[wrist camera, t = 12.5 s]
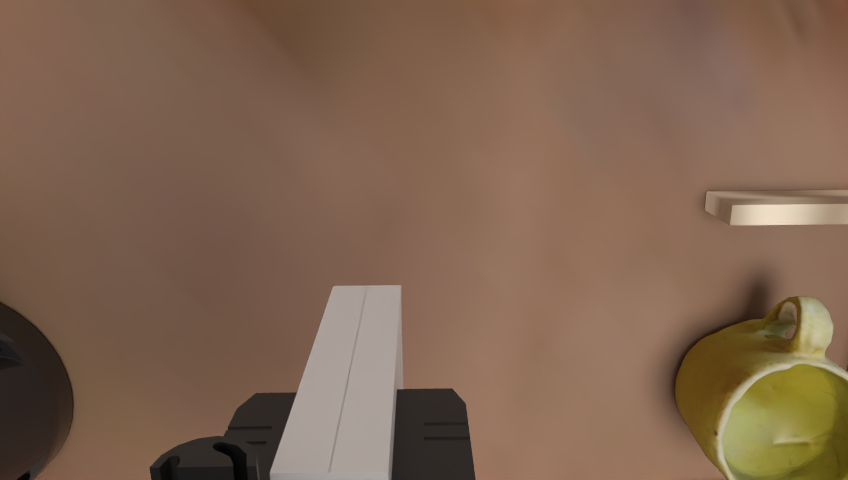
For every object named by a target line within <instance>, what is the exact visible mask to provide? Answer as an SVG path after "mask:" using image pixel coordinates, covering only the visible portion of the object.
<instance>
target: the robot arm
mask: <svg viewBox="0 0 848 480" xmlns="http://www.w3.org/2000/svg"><path fill="white" fill-rule="evenodd" d="M72 414H73V401H72V392H71V387H70V383H69V380H68V377H67V374H66V372H65V369H64V367H63V365H62V363H61V361H60V359H59V357H58V356H57V354H56V352H55V351H54V349H53V348H52V347H51V345H50V344H49V343H48V341H47V340H46V339H45V338H44V337H43V336H42V335H41V333H40V332H39V331H38V330H37V329H36V328H34V327H33V326H32V325H31V324H30V323H29V322H28V321H26V320H25V319H24V318H22V317H21V316H20V315H18V314H17V313H15V312H14V311H12V310H11V309H9V308H7V307H6V306H4V305H2V304H0V480H34V479H35V478H36V477H37V476H38V475H39V474H40V473H41V472H42V471H43V469H44V468H45V467H46V466H47V465H48V464H49V462H50V461H51V460H52V459H53V458H54V457H55V455H56V454H57V453H58V452H59V450H60V449H61V447H62V446H63V444H64V442H65V440H66V438H67V435H68V433H69V429H70V426H71V421H72ZM150 473H151V480H475V472H474V465H473V457H472V449H471V441H470V434H469V426H468V418H467V411H466V404H465V402H464V401H463V400H462V399H461V398H460V397H459V396H458V395H457V393H456V392H455V391H454V390H453V389H403V358H402V311H401V285H379V286H333V288H332V291H331V294H330V297H329V300H328V303H327V306H326V309H325V312H324V315H323V318H322V321H321V324H320V327H319V330H318V333H317V335H316V338H315V341H314V344H313V347H312V350H311V353H310V356H309V359H308V362H307V365H306V368H305V371H304V374H303V377H302V380H301V382H300V385H299V388H298V391H297V393H256V394H254V395H253V396H252V397H251V398H250V399H248V400H247V401H246V402H245V403H243V404H242V405H241V406H240V407H239V408H237V410H236V412H235V414H234V416H233V418H232V420H231V422H230V424H229V426H228V430H227V431H226V432H225V434H224V436H223V437H222V436H215V437H207V438H199V439H195V440H192V441H189V442H186V443H183V444H180V445H178V446H176V447H174V448H173V449H171V450H169V451H168V452H166V453H164V454H163V455H161V456H160V457H159V458H158V459H157V460H156V461H155V462H154V464H153V465H152V466H151V467H150Z"/></svg>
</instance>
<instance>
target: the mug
mask: <svg viewBox="0 0 848 480" xmlns="http://www.w3.org/2000/svg"><path fill="white" fill-rule="evenodd" d="M794 326H796V330H795V334H794V336H793V337H792V339H787V338H786V337H785V334H786V333H787V332H788V331H789V330H790V329H791V328H793V327H794ZM833 328H834V326H833V323H832V321H831V318H830V314H829V312H828V311H827V309H826V308H825V307H824V305H823V304H822V303H821V302H820V301H819V300H817V299H815V298H813V297H808V296H797V297H789V298H787V299H786V300H784V301H782V302H780V303H779V304H777V305H776V306H775V307H774V308H773V309H772V310H771V311H770V312H769V313H768V315H767V316H766V317H765V318H763V319H752V320H747V321H744V322H741V323H738V324H735V325H732V326H730V327H727V328H725V329H722V330H720V331H719V332H716V333H714V334H711V335H708V336H706V337H704V338H703V339H701V340H700V341H699V342H697V343H696V344H695V345H694V346H693V347H692V348H691V349H690V350H689V351H688V353H687V354H686V356H685V358H684V360H683V362H682V364H681V367H680V369H679V372H678V374H677V377H676V386H675V398H676V403H677V406H678V409H679V412H680V414H681V416H682V418H683V420H684V422H685V423H686V425H687V426H688V428H689V429H690V431H691V433H692V434H693V436H694V438H695V439H696V441H697V442H698V444H699V445H700V447H701V449H702V450H703V452H704V454H705V455H706V456H707V457H708V459H709V460H710V461H711V462H712V463H713V464H714V465H715V466H716V467H717V468H718V469H719V471H720V472H721V473H722V474H723V475H724V477H725V478H726V479H727V480H848V372H847V371H845V370H844V369H842V368H841V367H840V366H838V365H837V364H835V363H834V362H832V361H831V360H830V359H828V358H827V357H826V356H825V350H826V348H827V346H828V345H829V344H830V342H831V339H832V335H833Z"/></svg>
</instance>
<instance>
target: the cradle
mask: <svg viewBox="0 0 848 480" xmlns="http://www.w3.org/2000/svg"><path fill="white" fill-rule="evenodd" d="M705 211H707V212H708V213H710V214H712V215H713V216H715V217H717V218H718V219H720V220H722V221H723V222H725V223H727V224H728V225H807V224H848V190H789V191H707V194H706V203H705ZM847 372H848V370H847Z"/></svg>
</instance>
